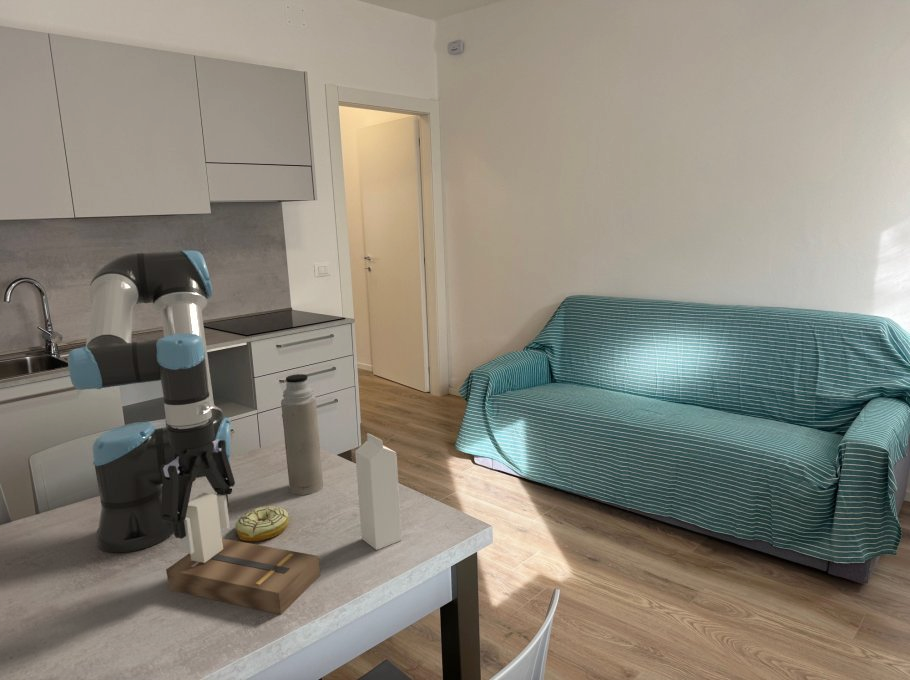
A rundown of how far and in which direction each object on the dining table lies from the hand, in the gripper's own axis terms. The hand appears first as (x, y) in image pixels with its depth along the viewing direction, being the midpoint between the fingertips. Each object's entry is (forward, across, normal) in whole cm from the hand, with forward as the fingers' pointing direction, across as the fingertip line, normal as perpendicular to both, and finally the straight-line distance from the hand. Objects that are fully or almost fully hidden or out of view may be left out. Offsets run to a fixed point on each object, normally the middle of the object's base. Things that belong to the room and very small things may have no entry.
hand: (205, 538), depth 118 cm
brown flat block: (+7, 0, -8) cm, 11 cm away
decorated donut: (+8, +17, +1) cm, 19 cm away
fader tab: (+3, 0, 0) cm, 3 cm away
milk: (+8, +21, -25) cm, 34 cm away
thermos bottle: (+8, +38, +4) cm, 39 cm away
